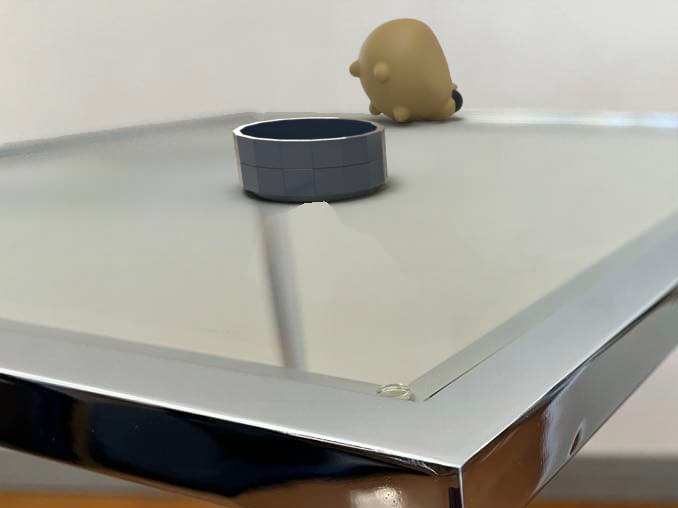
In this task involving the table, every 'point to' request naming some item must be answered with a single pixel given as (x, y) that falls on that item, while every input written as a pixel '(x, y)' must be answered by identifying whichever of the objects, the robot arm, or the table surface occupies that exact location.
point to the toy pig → (406, 73)
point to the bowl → (311, 158)
